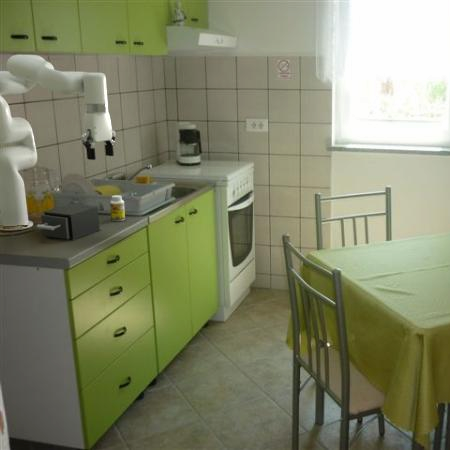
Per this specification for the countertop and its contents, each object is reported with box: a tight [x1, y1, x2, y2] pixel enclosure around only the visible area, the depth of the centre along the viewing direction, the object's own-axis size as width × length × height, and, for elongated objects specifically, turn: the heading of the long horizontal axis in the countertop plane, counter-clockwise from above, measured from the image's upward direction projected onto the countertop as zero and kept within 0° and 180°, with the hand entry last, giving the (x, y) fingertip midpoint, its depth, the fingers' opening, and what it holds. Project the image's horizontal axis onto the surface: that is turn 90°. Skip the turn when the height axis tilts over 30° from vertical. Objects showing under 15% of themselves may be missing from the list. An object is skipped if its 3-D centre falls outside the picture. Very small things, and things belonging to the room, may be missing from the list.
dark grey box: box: [43, 203, 100, 241], centre depth 224 cm, size 15×13×10 cm
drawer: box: [36, 214, 71, 240], centre depth 219 cm, size 18×11×8 cm, turn 159°
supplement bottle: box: [109, 194, 126, 222], centre depth 243 cm, size 6×6×10 cm
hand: (100, 157), depth 209 cm, fingers open, 9 cm apart
